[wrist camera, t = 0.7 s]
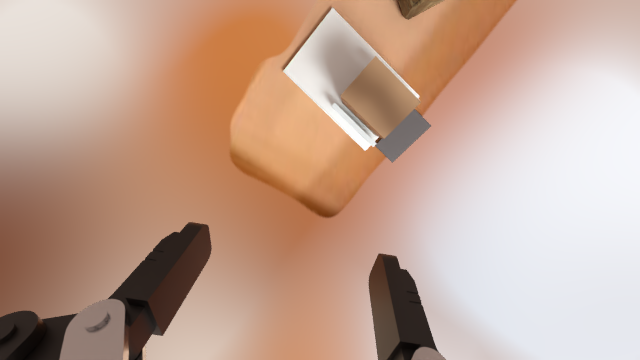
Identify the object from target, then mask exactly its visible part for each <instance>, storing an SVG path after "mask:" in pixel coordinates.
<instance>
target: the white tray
mask: <svg viewBox="0 0 640 360" xmlns="http://www.w3.org/2000/svg"><path fill="white" fill-rule="evenodd" d="M375 56H376V57H377V58H378V59H379V60H380V61H381V62H382V63H383V64H384V65H385V66H386V67H387V68H388V69H389V70H390V71H391V72H392V73H393V74H394V75H395V76H396V77H397V78H398V79H399V80H400V81H401V82H402V83H403V84H404V85H405V86H406V87H407V88H408V89H409V90H410V91H411V92H412V93H413V94H414V95H415V96H416V97H417V98H419V97H420V96H419V95H418V94H417V93H416V92H415V91H414V90H413V89H412V88H411V87H410V86H409V85H408V84H407V83H406V82H405V81H404V80H403V79H402V78H401V77H400V76H399V75H398V74H397V73H396V72H395V71H394V70H393V69H392V68H391V67H390V66H389V65H388V63H387V62H386V61H385V60H384V59H383V58H382V57H381V56H380V55H379V54H378V53H377V52H376V51H375V50H374V49H373V48H372V47H371V46H370V45H369V44H368V43H367V42H366V41H365V40H364V39H363V38H362V37H361V36H360V35H359V34H358V33H357V32H356V31H355V30H354V29H353V28H352V27H351V26H350V25H349V24H348V23H347V22H346V21H345V20H344V19H343V18H342V17H341V16H340V15H339V14H338V13H337V12H336V11H335V9H334V8H332V9H331V10H330V12H329V13H328V14H327V15H326V17H325V18H324V19H323V21H322V22H321V23H320V24H319V26H318V27H317V28H316V30H315V31H314V32H313V33H312V35H311V36H310V37H309V39H308V40H307V41H306V42H305V44H304V45H303V46H302V48H301V49H300V50H299V51H298V53H297V54H296V55H295V57H294V58H293V59H292V60H291V62H290V63H289V64H288V66H287V67H286V68H285V69H284V71H283V72H284V73H285V74H286V75H287V76H288V77H289V78H290V79H291V80H292V81H293V82H295V83H296V84H297V85H298V86H299V87H300V88H301V89H302V90H303V91H304V92H305V93H306V94H307V95H308V96H309V97H310V98H311V99H312V100H313V101H314V102H315V103H316V104H317V105H318V106H319V107H320V108H321V109H322V110H323V111H324V112H325V113H326V114H328V115H329V116H330V117H331V118H332V119H333V120H334V121H335V122H336V123H337V124H338V125H339V126H340V127H341V128H342V129H343V130H344V131H345V132H346V133H347V134H348V135H349V136H350V137H351V138H352V139H353V140H354V141H355V142H356V143H357V144H358V145H360V146H361V147H362V148H363V149H364V150H365V151H366V150H367V149H368V148H369V147H370V146H373V147H374V146H376V147H377V148H378V149H379V150H380V151H381V152H382V153H383V154H384V155H385V156H386V157H387V158H388V159H389V160H390V161H391V162H394V160H396V159H397V158H398V157H399V156H400V155H401V154H402V153H403V152H404V151H405V150H406V149H407V148H408V147H409V146H411V144H413V143H414V142H415V141H416V140H417V139H418V138H419V137H420V136H421V135H422V134H423V133H424V132H425V131H426V130H427V129H429V127H431V125H430V124H429V123H428V122H427V121H426V120H425V119H424V118H423V117H422V116H421V115H420V114H419V113H418V112H417V111H416V110H415V109H414V110H413V111H412V112H411V113H410V114H409V115H408V116H407V117H406V118H405V119H404V120H403V121H402V122H401V123H400V124H399V125H398V126H397V127H396V128H395V129H394V130H393V131H392V132H391V133H390V134H389V135H388V136H387V137H386V138H385V139H384V138H382V139H381V140H380V141H379V142H378V143H376V142H375V141H376V140H377V139H378V138H379V137H378V136H375V135H374V134H373V133H372V132H371V131H370V130H369V129H368V128H367V127H366V126H365V125H364V124H363V123H362V122H361V121H360V120H359V119H358V118H357V117H356V116H355V115H354V114H353V113H352V112H351V111H350V110H349V109H348V108H347V107H346V106H345V105H344V104H343V103H342V100H341V96H340V95H341V94H342V93H343V92H344V91H345V90H346V89H347V88H348V86H349V85H350V84H351V83H352V82H353V81H354V80H355V79H356V77H357V76H358V75H359V74H360V73H361V72H362V71H363V70H364V68H365V67H366V66H367V65H368V64H369V63H370V62H371V60H372V59H373V58H374V57H375Z"/></svg>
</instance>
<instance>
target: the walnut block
mask: <svg viewBox="0 0 640 360" xmlns="http://www.w3.org/2000/svg"><path fill="white" fill-rule="evenodd" d="M340 96H341V100H342V103H343V104H344V105H345V106H346V107H347V108H348V109H349V110H350V111H351V112H352V113H353V114H354V115H355V116H356V117H357V118H358V119H359V120H360V121H361V122H362V123H363V124H364V125H365V126H366V127H367V128H368V129H369V130H370V131H371V132H372V133H373V134H374V135H375V136H378V137H381V138H384V139H385V138H386V137H387V136H388V135H389V134H390V133H391V132H392V131H393V130H394V129H395V128H396V127H397V126H398V125H399V124H400V123H401V122H402V121H403V120H404V119H405V118H406V117H407V116H408V115H409V114H410V113H411V112H412V111H413V110H414V109H415V108H416V107H417V106H418V105H419V104H420V103H421V101H420V100H419V99H418V98H417V97H416V96H415V95H414V94H413V93H412V92H411V91H410V90H409V89H408V88H407V87H406V86H405V85H404V84H403V83H402V82H401V81H400V80H399V79H398V78H397V77H396V76H395V75H394V74H393V73H392V72H391V71H390V70H389V69H388V68H387V67H386V66H385V65H384V64H383V63H382V62H381V61H380V60H379V59H378V58H377V57H376V56H375V57H374V58H373V59H372V60H371V62H370V63H369V64H368V65H367V66H366V67H365V68H364V70H363V71H362V72H361V73H360V74H359V75H358V76H357V77H356V79H355V80H354V81H353V82H352V83H351V84H350V85H349V86H348V88H347V89H346V90H345V91H344V92H343V93H342V94H341V95H340Z"/></svg>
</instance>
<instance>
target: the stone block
mask: <svg viewBox="0 0 640 360" xmlns="http://www.w3.org/2000/svg"><path fill="white" fill-rule="evenodd" d="M442 1H444V0H398V2H399V5H400V8H401V11H402V14H403V16H404V18H406V19H408V20H409V19H410V18H412V17H414V16H416V15H418V14H420V13H421V12H423V11H425V10H427V9H429V8H431V7H433V6H435V5H436V4H438V3H440V2H442Z"/></svg>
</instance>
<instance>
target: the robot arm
mask: <svg viewBox="0 0 640 360" xmlns="http://www.w3.org/2000/svg"><path fill="white" fill-rule="evenodd" d="M210 254H211V240H210V233H209V227H208V225H205V224H199V223H193V222H189V223H188V224H187V225H186V226H185V227H184V228H183V229H182V231H181V232H180V233H179V232H173V233H172V234H170V235H169V236H167V237H165V238H164V239H162V240H161V241H160V243H159V244H158V245H157V246H156V247H155V248H154V249H153V251H152V252H150V253H149V255H148V256H147V257H146V258H145V260H144V261H142V262H141V263H140V265H139V266H138V267H137V268H136V269H135V270H134V271H133V272H132V273H131V275H130V276H129V277H128V278H127V279H126V280H125V281H124V282H123V283H122V285H121V286H120V287H119V288H118V289H117V290H116V291H115V292H114V293H113V294H112V295H111V296H110V297H109V298H108V299H106V300H102V301H99V302H96V303H94V304H92V305H90V306H88V307H87V308H85V309H84V310H82V311H81V312H80V313H78V314H72V315H66V316H60V317H54V318H47V319H40V318H39V317H38V316H37V315H36V314H35V313H34V312H31V311H18V312H14V313H11V314H8V315H5V316H3V317H0V360H146V346H145V344H146V343H147V341H148V340H149V338H150V336H151V335H152V334H154V335H161V336H163V334H164V333H165V331H166V329H167V328H168V326H169V324H170V323H171V321H172V319H173V318H174V316H175V314H176V313H177V311H178V309H179V308H180V306H181V304H182V303H183V301H184V299H185V298H186V296H187V295H188V293H189V291H190V290H191V288H192V286H193V285H194V283H195V281H196V280H197V278H198V276H199V274H200V273H201V271H202V269H203V268H204V266H205V265H206V263H207V261H208V259H209V257H210ZM369 292H370V300H371V307H372V315H373V322H374V331H375V339H376V346H377V354H378V360H446V359H445V358H444V357H443V356H442V355H441V354H440V353H439V352H438V350H437V348H436V346H435V343H434V340H433V337H432V334H431V331H430V328H429V325H428V322H427V318H426V315H425V312H424V309H423V306H422V305H421V300H420V297H419V295H418V291H417V288H416V284H415V282H414V280H413V278H412V277H411V276H410V274H409V273H408V272H407V270H404V269H400V266H399V262H398V259H397V257H396V256H392V255H386V254H378V256H377V259H376V261H375V263H374V266H373V268H372V270H371V273H370V276H369Z"/></svg>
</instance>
